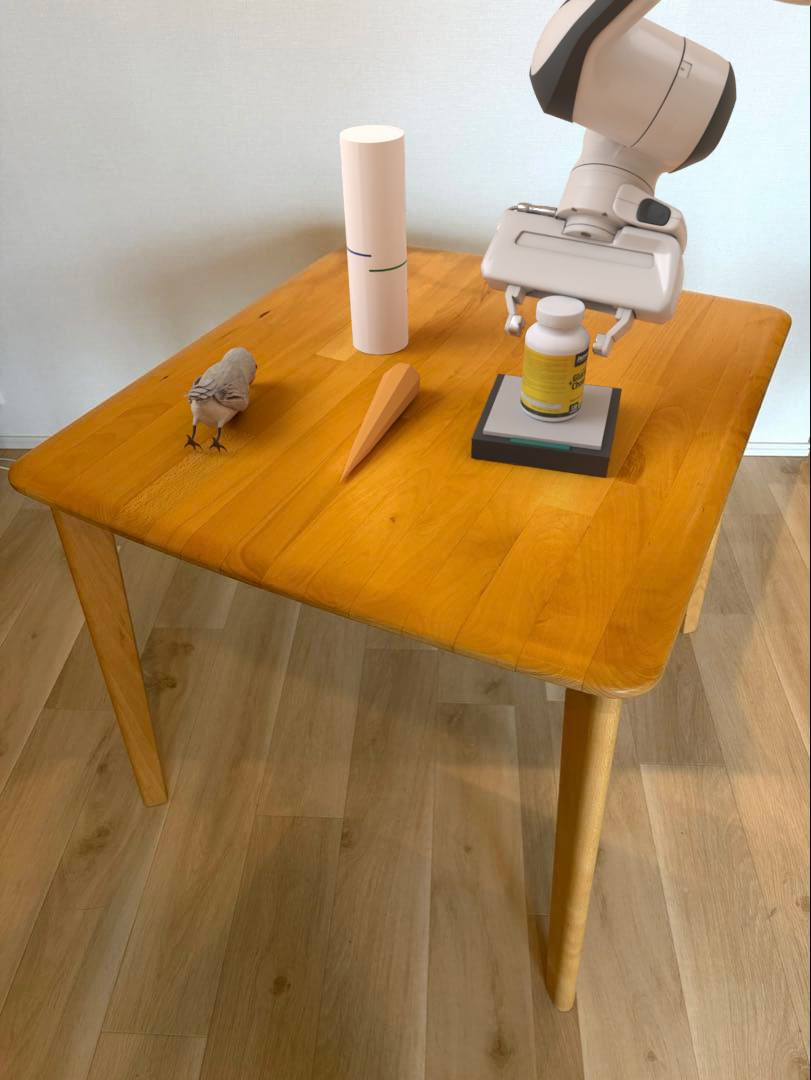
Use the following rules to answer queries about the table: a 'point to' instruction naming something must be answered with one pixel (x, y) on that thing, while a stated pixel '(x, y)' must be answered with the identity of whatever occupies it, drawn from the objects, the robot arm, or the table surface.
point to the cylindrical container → (376, 236)
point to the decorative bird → (222, 392)
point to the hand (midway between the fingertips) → (555, 344)
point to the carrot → (384, 410)
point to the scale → (547, 431)
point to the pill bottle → (555, 360)
